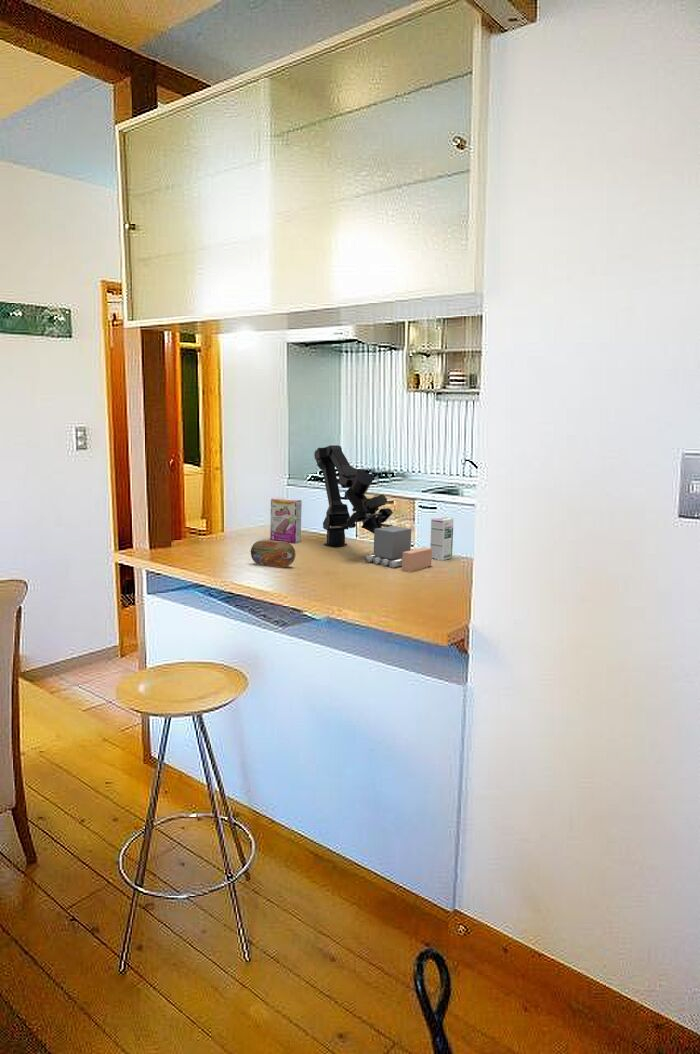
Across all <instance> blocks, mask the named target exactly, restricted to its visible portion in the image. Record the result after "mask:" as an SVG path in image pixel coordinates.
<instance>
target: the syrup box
mask: <svg viewBox="0 0 700 1054" xmlns="http://www.w3.org/2000/svg"><path fill="white" fill-rule="evenodd" d="M453 538H454V518H453V517H448V516H439V517H432V518H430V546H429V548H431V549H432V559H433V558H434V560H437V559H439V561H445V560H449V559H453V545H454V544H453V542H454V540H453Z"/></svg>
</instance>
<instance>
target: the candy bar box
mask: <svg viewBox="0 0 700 1054" xmlns="http://www.w3.org/2000/svg"><path fill="white" fill-rule="evenodd" d="M302 505H303V504H302V499H295V498H288V497H287V498H284V497H274V498H273V497H272V498H271V499H270V533H269V534H270V535H269V536H270V537H269V538H270V539H269V541H282V542H288V543H289V542H291V543H290V544H297V543H299V541H300V542H301V541H302ZM296 542H297V543H296Z"/></svg>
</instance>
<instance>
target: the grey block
mask: <svg viewBox="0 0 700 1054" xmlns="http://www.w3.org/2000/svg"><path fill="white" fill-rule="evenodd" d="M411 546H412V528H408V527H403V526H399V525H398V526H396V525H390V526H385V527H383V526H382V528H377V529H374V534H373V555H375V556H380V557H385V558H389V559H394V558H399V557H403V552H406V551H410V550H412V548H411Z"/></svg>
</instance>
